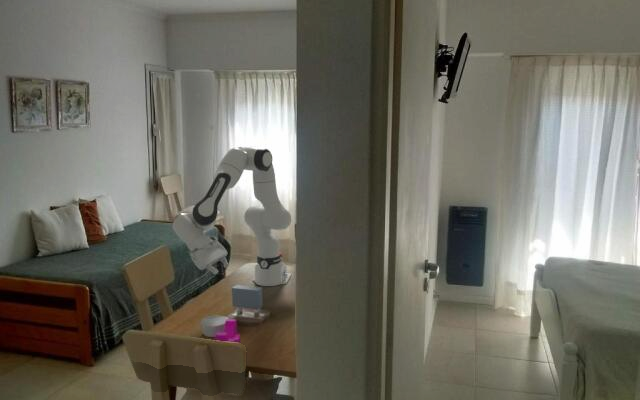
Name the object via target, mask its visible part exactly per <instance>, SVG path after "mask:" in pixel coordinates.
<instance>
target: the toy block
mask: <svg viewBox="0 0 640 400" xmlns="http://www.w3.org/2000/svg"><path fill="white" fill-rule="evenodd" d="M237 325H238V324H237V323H236V319H227V320H226V321H225V331H224V332H217V334H216V335H215V337H214V338H215V341H216V340H220V341H230V342H239V343H240V344H241V334H239V333H238V331H237V330H238V328H237V327H238V326H237Z"/></svg>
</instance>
